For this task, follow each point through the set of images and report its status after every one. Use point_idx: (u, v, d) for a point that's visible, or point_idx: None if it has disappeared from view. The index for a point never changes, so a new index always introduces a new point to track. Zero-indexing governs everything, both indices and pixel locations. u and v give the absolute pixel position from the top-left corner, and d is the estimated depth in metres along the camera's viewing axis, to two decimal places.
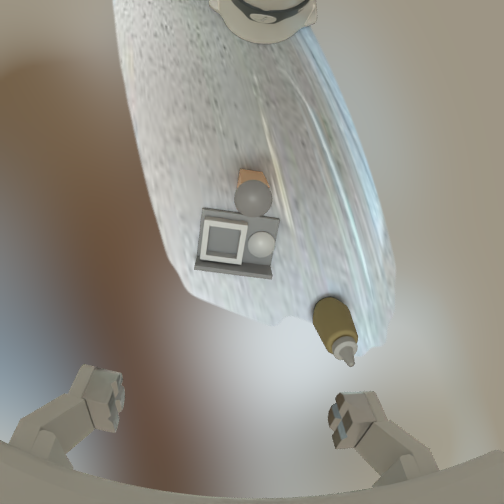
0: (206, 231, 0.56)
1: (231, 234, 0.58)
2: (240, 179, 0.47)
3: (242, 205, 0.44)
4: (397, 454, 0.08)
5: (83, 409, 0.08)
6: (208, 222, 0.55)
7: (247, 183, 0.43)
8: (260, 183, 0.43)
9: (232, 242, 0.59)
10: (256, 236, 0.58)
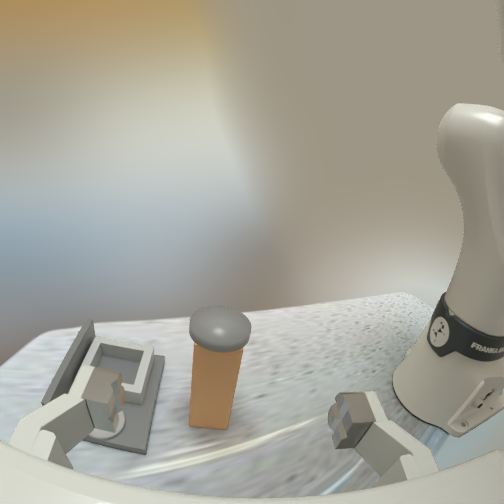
0: (135, 347, 0.35)
1: None
2: None
3: (209, 312, 0.27)
4: (397, 454, 0.08)
5: (83, 409, 0.08)
6: (149, 350, 0.35)
7: (245, 317, 0.28)
8: (248, 330, 0.26)
9: None
10: None
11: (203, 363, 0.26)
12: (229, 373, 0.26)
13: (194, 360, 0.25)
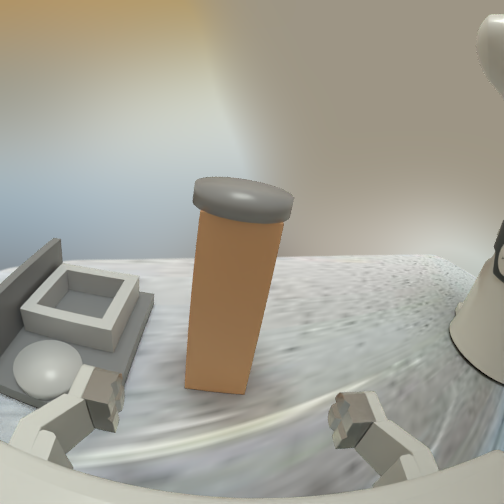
0: (113, 275, 0.25)
1: None
2: None
3: (225, 180, 0.18)
4: (397, 455, 0.08)
5: (83, 409, 0.08)
6: (132, 279, 0.25)
7: (281, 189, 0.18)
8: (290, 198, 0.16)
9: None
10: (72, 358, 0.17)
11: (213, 253, 0.16)
12: (257, 275, 0.16)
13: (198, 247, 0.15)
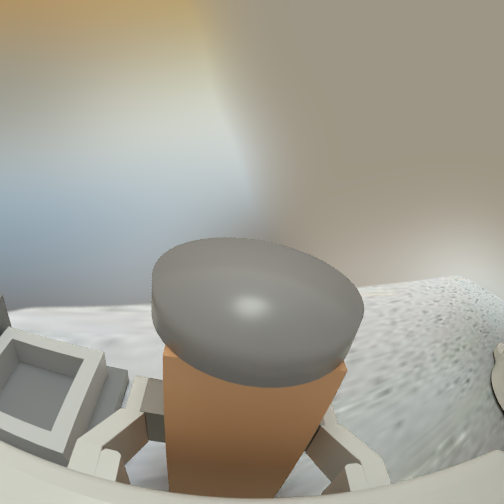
0: (70, 351, 0.16)
1: (42, 421, 0.13)
2: None
3: (219, 250, 0.09)
4: (346, 462, 0.08)
5: (142, 423, 0.08)
6: (94, 358, 0.16)
7: (329, 267, 0.09)
8: (357, 301, 0.08)
9: (19, 418, 0.12)
10: None
11: (199, 417, 0.07)
12: (283, 440, 0.08)
13: (169, 408, 0.07)
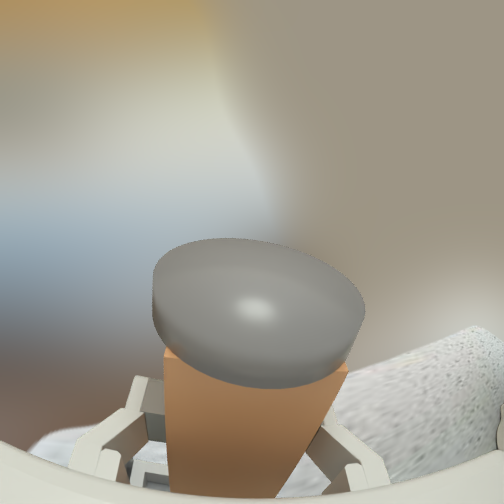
0: None
1: None
2: None
3: (220, 251, 0.09)
4: (346, 462, 0.08)
5: (142, 423, 0.08)
6: None
7: (330, 268, 0.09)
8: (358, 302, 0.07)
9: None
10: None
11: (200, 418, 0.07)
12: (284, 440, 0.08)
13: (169, 409, 0.07)
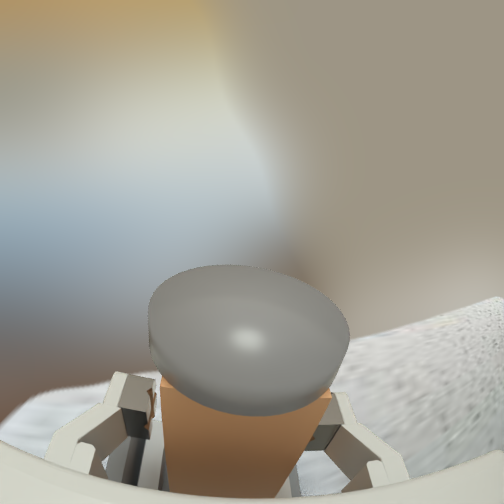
0: None
1: None
2: None
3: (212, 280, 0.09)
4: (367, 460, 0.08)
5: (119, 418, 0.08)
6: None
7: (319, 294, 0.09)
8: (343, 331, 0.08)
9: None
10: None
11: (195, 437, 0.07)
12: (275, 456, 0.08)
13: (167, 429, 0.07)
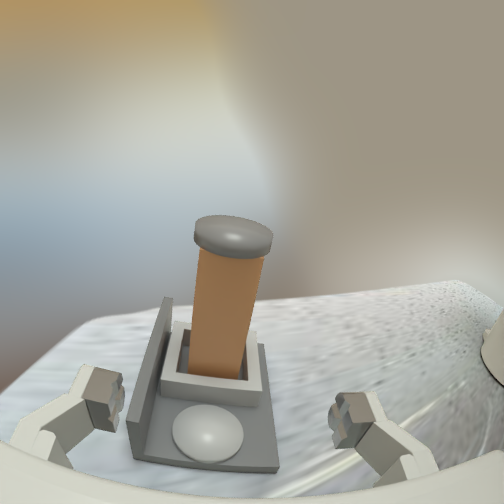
0: None
1: None
2: None
3: (219, 219, 0.22)
4: (398, 455, 0.08)
5: (83, 409, 0.08)
6: (251, 335, 0.29)
7: (264, 226, 0.22)
8: (270, 236, 0.21)
9: None
10: (229, 419, 0.21)
11: (210, 279, 0.20)
12: (243, 296, 0.21)
13: (198, 275, 0.20)
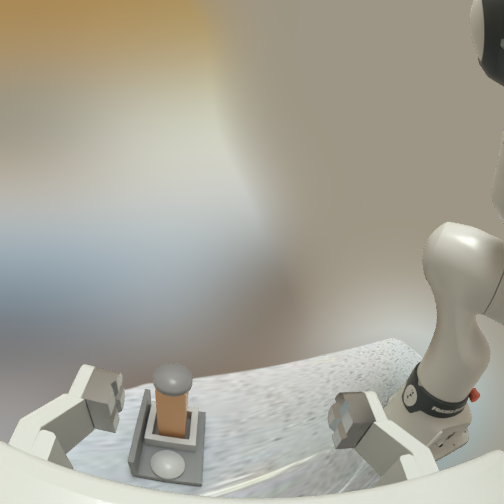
0: None
1: None
2: None
3: (166, 368, 0.39)
4: (397, 454, 0.08)
5: (83, 409, 0.08)
6: (195, 410, 0.46)
7: (189, 372, 0.39)
8: (190, 382, 0.38)
9: None
10: (178, 458, 0.38)
11: (162, 400, 0.37)
12: (179, 407, 0.38)
13: (156, 398, 0.37)
